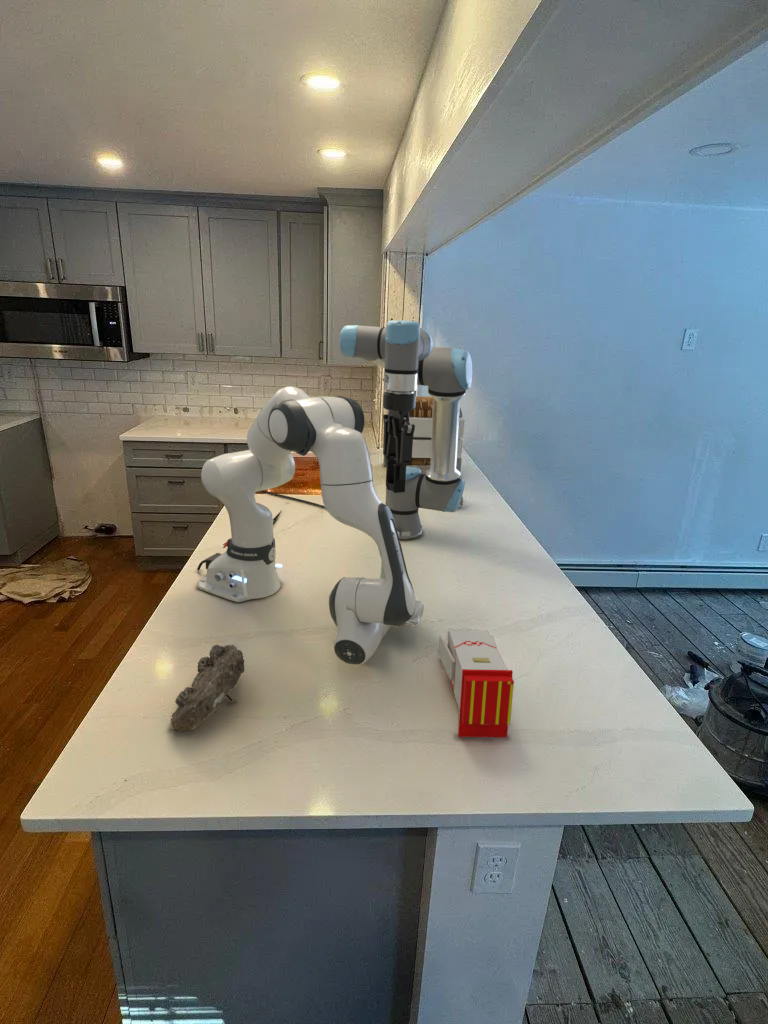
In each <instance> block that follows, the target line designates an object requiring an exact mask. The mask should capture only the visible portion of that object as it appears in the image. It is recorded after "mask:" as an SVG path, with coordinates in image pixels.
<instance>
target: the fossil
mask: <svg viewBox="0 0 768 1024" xmlns="http://www.w3.org/2000/svg"><path fill="white" fill-rule="evenodd" d="M244 658H245V657H244V653H243V652H242V650H240V649H238V648H237V646H236V645H235V644H227V645H224V646H223V645H218V644H214V645H213V646H212V647H211V649H210V650H209V656H202V657H201V658H200V659H199V660H198V662H197V667H196V668H197V670H196V671H197V672H198V673H197V674H196V676H195V677H194V678H193V681H192V683H191V685H190V686H187V687H185V688H184V689H183V690H181V692H179V694H178V695H177V696H176V698H175V701H174V702H175V704H176V705H177V708H176V709H175V711H174V712H172V713H171V718H170V724H171V729H172V730H176V731H177V732H179V733H180V732H181V733H182V732H185V731H190V730H192V731H193V730H195V729H197V728H198V727H199V726H200V725H201V724H202V723H203V722H204V721H206V720H207V719H208V718H209V716H211V715H212V714H213V713H214V712H215V711H216V710H217V709H219V706H220V705H221V703H222V702H223V701H224V700H226V698H227V699H228V701H230V702H234V699H233V698H232V696H230V695H229V693H230V691H231V690H234V689H235V687H236V686H237V685H238V682H239V680H240V679H241V676H242V674H244V673H245V667H246V666H245V659H244Z"/></svg>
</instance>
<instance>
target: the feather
mask: <svg viewBox="0 0 768 1024" xmlns="http://www.w3.org/2000/svg"><path fill="white" fill-rule="evenodd" d="M281 512H282V510H280V512H279V513H277V514H276V516H275V517H273V526H274V525H275V523H276V521H277V520H278V518H279V516H280V514H281Z"/></svg>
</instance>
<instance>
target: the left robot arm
mask: <svg viewBox="0 0 768 1024" xmlns="http://www.w3.org/2000/svg"><path fill="white" fill-rule="evenodd" d="M364 428H365V414H364V411H363V408H362V406H361V405H360V404H359V402H358V401H357V400H355V399H353V398H351V397H347V396H344V395H343V396H342V395H337V396H330V395H327V396H326V395H325V396H324V395H319V396H317V395H316V396H309V394H308V393H307V392H305V391H304V390H303V389H302V388H299V387H297V386H292V385H291V386H283V387H281V388H279V389H278V390H277V391H276V392H275V393H274V394H273V395H272V396H271V397H270V398H268V400H267V401H266V403H265V404H264V405H263V407H262V408H261V410H260V411H259V412H258V414H257V416H256V418H255V420H254V421H253V422H252V424H251V426H250V428H249V429H248V431H247V435H246V444H247V447H248V449H245V450H240V451H233V452H227V453H222V454H220V455H217V456H214V457H212V458H210V459H208V460H206V461H205V462H204V464H203V466H202V468H201V471H200V472H201V473H200V479H201V483H202V486H203V488H204V489H205V491H206V492H207V494H209V495H210V496H211V497H213V498H215V499H217V500H218V501H220V503H222V504H223V506H224V507H225V509H226V512H227V514H228V517H229V524H230V534H231V535H230V536H231V537H230V538H229V539H227V540H226V541H225V542H224V543H223V544H222V548H223V549H225V548H226V547H227V549H226V551H224V552H222V553H220V552H216V553H214V554H212V555H210V556H208V557H206V558H205V559H203V560H202V561H200V562H199V564H198V566H197V568H196V570H197V571H201V568H202V565H204V564H205V570H206V574H205V575H204V576H203V577H202V578H200V579H199V582H198V583H197V584H198V585H197V588H198V589H199V590H201V591H204V592H206V593H209V594H212V595H215V596H217V597H221V598H223V599H225V600H229V601H232V602H234V603H242V602H245V601H249V600H255V599H256V600H257V599H263V598H267V597H269V596H273V595H275V593H277V592H278V591H279V590H280V589H281V586H282V585H281V582H280V578H279V575H278V571H277V568H283V564H281V563H276V539H275V537H274V525H273V519H274V516H273V513H272V511H271V510H270V508H269V507H267V506H266V505H265V504H262V503H259V502H257V501H256V497H255V496H256V493H257V492H259V491H262V490H264V491H267V490H271V489H275V488H278V487H280V486H283V485H284V484H287V483H288V482H290V481H292V479H293V478H294V476H295V472H296V462H295V458H294V456H293V454H291V453H292V452H293V453H296V454H297V455H300V456H301V457H305V456H306V455H307V454H309V452H311V453H312V454H313V455H314V456H315V457H316V458H317V461H318V465H319V479H320V480H319V483H320V491H321V499H322V503H323V504H322V505H323V506H324V507H325V508H324V509H325V510H326V512H327V513H328V514H329V516H331V517H332V518H333V519H335V520H336V521H337V522H339V523H341V524H343V525H345V526H348V527H351V528H353V529H355V530H358V531H360V532H362V533H364V534H366V535H367V536H368V537H370V538H371V539H372V540H373V541H374V543H375V544H376V546H377V549H378V553H379V556H380V562H381V561H382V565H383V569H384V573H385V577H386V578H384V579H382V578H381V577H379V578H378V577H359V576H343V577H342V578H340V579H338V581H337V582H336V583H335V585H334V586H333V588H332V590H331V592H330V594H329V596H328V597H329V598H328V609H329V614H330V617H331V619H332V621H333V623H334V625H335V627H336V634H335V639H334V642H333V651H334V653H335V655H336V657H337V658H338V659H339V660H340V661H342V662H343V663H346V664H347V665H353V666H355V665H356V666H358V665H362V664H364V663H365V662H367V661H368V660H369V659H371V657H372V656H373V655H374V654H375V652H376V650H377V649H378V648H379V646H380V644H381V642H382V639H383V638H384V637H385V636H386V634H387V633H388V631H389V629H390V627H401V626H403V627H413V626H416V625H418V623H419V622H420V620H421V619H422V617H423V615H424V607H425V606H424V603H423V602H422V600H416V595H415V594H416V593H415V590H414V587H413V584H412V582H411V579H410V576H409V573H408V569H407V566H406V561H405V557H404V552H403V548H402V544H401V540H399V536H398V532H397V528H396V524H395V521H394V518H393V515H392V512H391V510H390V508H389V507H388V506H386V505H385V504H386V503H384V502H382V501H381V499H380V498H379V495H378V494H377V491H376V488H375V485H374V476H373V475H374V474H373V467H372V461H371V457H370V452H369V448H368V444H367V441H366V438H365V435H364V434H362V433H363V432H364Z"/></svg>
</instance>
